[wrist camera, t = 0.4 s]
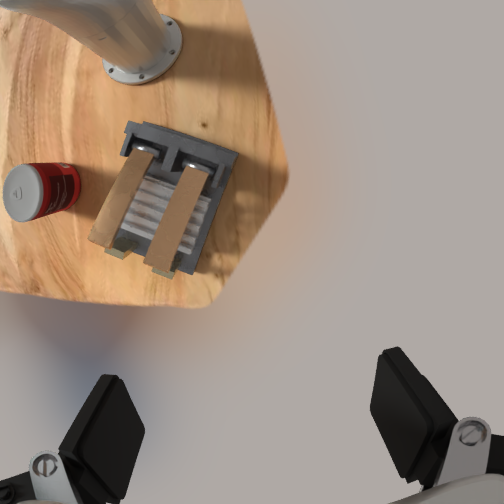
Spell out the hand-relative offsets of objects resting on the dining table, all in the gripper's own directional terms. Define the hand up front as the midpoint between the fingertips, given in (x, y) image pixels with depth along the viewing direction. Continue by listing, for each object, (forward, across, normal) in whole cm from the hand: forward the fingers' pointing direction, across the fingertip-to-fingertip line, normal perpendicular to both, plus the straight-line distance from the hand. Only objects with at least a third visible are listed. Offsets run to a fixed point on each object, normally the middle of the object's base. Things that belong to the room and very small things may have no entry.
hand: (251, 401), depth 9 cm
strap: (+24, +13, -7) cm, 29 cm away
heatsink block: (+33, +10, -6) cm, 35 cm away
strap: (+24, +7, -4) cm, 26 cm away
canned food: (+33, +28, -11) cm, 45 cm away
